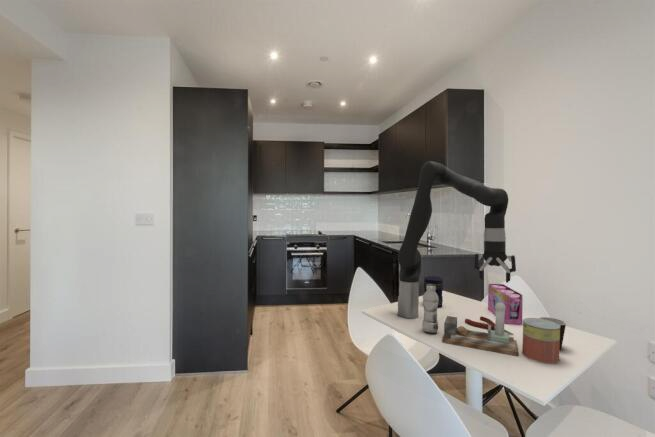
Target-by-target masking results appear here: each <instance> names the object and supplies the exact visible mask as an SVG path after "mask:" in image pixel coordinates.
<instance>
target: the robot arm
mask: <svg viewBox="0 0 655 437" xmlns="http://www.w3.org/2000/svg"><path fill="white" fill-rule="evenodd" d="M433 184H442V185H446V186H450V187H451V188H453V189H455V190H456V191H458V192H460V194H463V195H465V196H467V197H469V198H473V199H474V200H475V201H476V202H478V203H479V204H481V205H484V206H487V207H490V208H489V212H487V213H486V214H485V215H484V221H483V222H484V228H483V229H484V232H483V254H481V253H478V252H477V253H476V254H475V255H474V265H473V266H474V269H476V270H478V271H479V279H480V280H481V281H484V280H485V271H484V269H485V268H486V267H487V266H488V265H489V266H490V267H491V266H492V267H493V266H495V267H502V268H503V269H504V271H505V272H506V273H505V283H506V284H507V283H509V282H510V281H511V273H515V272H516V271H517V269H516V267H517V266H516V265H517V264H516V256H515V255H514V254H512V255H507V253H506V252H507V251H506V250H507V249H506V243H507V242H506V240H507V237H506V235H507V234H506V228H505V226H506V224H505V222H506V221H505V220H506V218H505V217H506V213H507V210H508V205H509V196H508V193H507V191H506V190H505V189H504V188H496V187H495V188H494V187H489V186H486V185H485V184H484V182H481V181H478V180H476V179H473V178H471V177H468V176H465V175H462V174H459V173H457V172H455V171H453V170H452V169H450V168H449V167H447V166H445V165H444V164H442V163H441V162H440V163H439V162H436V161H434V160H433V161H432V160H429V161H426V162H425V163H423V165H422V166H421V169H420V173H419V178H418V185H417V190H416V193H415V196H414V197H415V198H414V201H413V204H412V208H411V212H410V215H409V219H408V223H407V227H406V231H405V234H404V238H403V240H402V243H401V246H400V248H399V252H398V253H397V262H398V264H399V265H400V267H402V269H401V270H402V271H401V272H400V274H399V282H398V283H399V288H398V289H399V290H398V292H399V293H398V296H397V316H399V317H402V318H405V319H416V318H418V317H419V304H420V303H419V299H420V298H419V297H420V295H419V294H420V293H419V291H420V287H419V286H420V277H421V272H422V255H421V252H420V251H419V250H418V246H419V242H420V241H421V239H422V237H423V236H424V234H425V232H426V230H427V229H428V226H429V223H430V221H431V217H432V213H433V204H432V198H431V192H432V189H433V188H432V187H433ZM481 259H483V260H484V263H483V264H482V265H479V264H480V263H479V262H480V260H481ZM507 259H508V260H509V262H511V268H510V267H509V266H508V264H506V260H507Z"/></svg>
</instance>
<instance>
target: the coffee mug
mask: <svg viewBox="0 0 655 437" xmlns="http://www.w3.org/2000/svg"><path fill="white" fill-rule="evenodd" d="M539 319H545V320H549V321H553V322H555V323H557V324H559V325H560V326H561V328H560V349H559V351H561V350H562V346H563V342H564V336H565V331H566V324H567V323H566V321H564V320H563V319H559V318H555V317H548V316H547V317H546V316H542V317H541V316H540V317H539Z"/></svg>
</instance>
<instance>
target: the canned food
mask: <svg viewBox="0 0 655 437" xmlns="http://www.w3.org/2000/svg"><path fill="white" fill-rule="evenodd" d="M539 318H540V317H539ZM539 318H538V317H526V318H522V345H521V346H522V348H521V354H522V356H524V357H525V358H527V359H529V360H532V361H535V362H538V363H542V364H551V365H552V364H557V363H559V362H560V350H559V349H560V328H561V326H560V325H559V324H557V323H555V322H553V321H549V320H545V319H539Z"/></svg>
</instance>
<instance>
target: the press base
mask: <svg viewBox="0 0 655 437" xmlns="http://www.w3.org/2000/svg"><path fill="white" fill-rule="evenodd" d="M443 322H444V323H443V325H444V327H443V328H444V330H443V335H442V338H441V343H442V344H443V343H445V344H450V345H454V346H460V347H466V348H472V349H477V350H481V351H487V352H493V353H498V354H504V355H510V356H515V357H519V348H518V342H517V340H516V339H515V338H514V336H509V344H506V343H500V342H494V341H488V332H484V331H479V330H471V329H467V328H466V327H465V326H463V325H460V326H458V317H457V316H450V315H446V318H445V320H444V321H443Z"/></svg>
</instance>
